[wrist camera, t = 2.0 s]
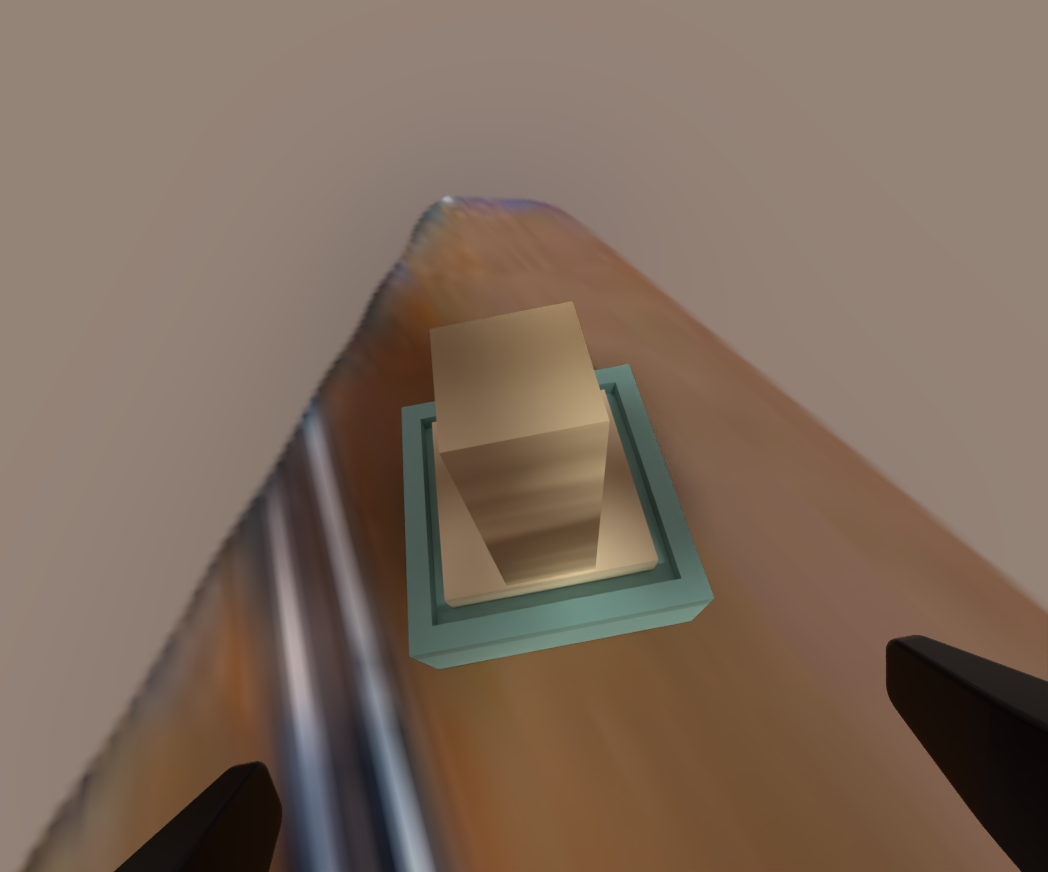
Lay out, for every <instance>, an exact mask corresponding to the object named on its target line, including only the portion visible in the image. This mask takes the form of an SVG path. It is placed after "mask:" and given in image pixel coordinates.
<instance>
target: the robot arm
mask: <svg viewBox="0 0 1048 872" xmlns="http://www.w3.org/2000/svg"><path fill="white" fill-rule="evenodd" d="M886 688H887V692H888V696H889V698H890V700H891V702H892V704H893V706H894V707H895V709H896V710H897V711H898V713H899V714H900V715H901V717H902V718H903V720H904V721H905V722H906V724H907V725H908V726H909V728H910V729H911V730H912V732H913V733H914V734H915V736H916V737H917V739H918V740H919V741H920V743H921V744H922V745H923V747H924V748H925V749H926V751H927V752H928V753H929V755H930V756H931V757H932V759H933V760H934V762H935V763H936V764H937V766H938V767H939V768H940V770H941V771H942V772H943V774H944V775H945V776H946V778H947V779H948V781H949V782H950V783H951V785H952V786H953V787H954V789H955V790H956V791H957V793H958V794H959V795H960V797H961V798H962V799H963V801H964V802H965V804H966V805H967V806H968V807H969V809H970V810H971V811H972V813H973V814H974V815H975V817H976V818H977V819H978V820H979V822H980V823H981V824H982V826H983V827H984V828H985V829H986V830H987V832H988V833H989V834H990V835H991V836H992V838H993V839H994V840H995V841H996V842H997V844H998V845H999V846H1000V847H1001V848H1002V850H1003V851H1004V852H1005V853H1006V854H1007V855H1008V857H1009V858H1010V859H1011V860H1012V861H1013V862H1014V864H1015V865H1016V866H1017V867H1018V868H1019V869H1020V871H1021V872H1048V681H1045V680H1043V679H1040V678H1037V677H1034V676H1032V675H1029V674H1026V673H1023V672H1021V671H1018V670H1015V669H1012V668H1010V667H1007V666H1004V665H1002V664H999V663H996V662H993V661H991V660H988V659H985V658H982V657H980V656H977V655H974V654H971V653H969V652H966V651H963V650H961V649H958V648H955V647H952V646H950V645H947V644H944V643H941V642H939V641H936V640H933V639H930V638H928V637H925V636H921V635H911V636H906V637H901V638H896V639H892V640H890V641H889V642H888V644H887V646H886ZM281 822H282V805H281V801H280V799H279V796H278V794H277V791H276V789H275V786H274V783H273V781H272V778H271V776H270V773H269V770H268V768H267V766H266V765H265V764H264V763H263V762H260V761H255V762H250V763H245V764H240V765H236V766H233V767H231V768H229V769H228V770H227V771H226V772H224V773H223V774H222V775H221V776H220V777H219V778H218V779H217V780H215V781H214V782H213V783H212V784H211V785H210V786H209V787H208V788H207V789H205V790H204V791H203V792H202V793H201V794H200V795H199V796H198V797H197V798H195V799H194V800H193V801H192V802H191V803H190V804H189V805H188V806H187V807H185V808H184V809H183V810H182V811H181V812H180V813H179V814H178V815H176V816H175V817H174V818H173V819H172V820H171V821H170V822H169V823H168V824H166V825H165V826H164V827H163V828H162V829H161V830H160V831H159V832H158V833H156V834H155V835H154V836H153V837H152V838H151V839H150V840H149V841H147V842H146V843H145V844H144V845H143V846H142V847H141V848H140V849H139V850H137V851H136V852H135V853H134V854H133V855H132V856H131V857H130V858H129V859H127V860H126V861H125V862H124V863H123V864H122V865H121V866H120V867H118V868H117V869H116V870H115V871H114V872H269V869H270V866H271V862H272V858H273V854H274V850H275V846H276V843H277V839H278V835H279V831H280V827H281Z"/></svg>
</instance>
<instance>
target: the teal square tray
mask: <svg viewBox="0 0 1048 872" xmlns="http://www.w3.org/2000/svg"><path fill="white" fill-rule="evenodd" d="M594 372H595V375H596V378H597V381H598V385H599V388H600V390H605V393H606V396H607V399H608V402H609V405H610V409H611V412H612V415H613V418H614V421H615V424H616V427H617V431H618V434H619V437H620V440H621V443H622V446H623V449H624V453H625V456H626V459H627V462H628V465H629V468H630V472H631V475H632V478H633V481H634V484H635V487H636V490H637V494H638V497H639V500H640V503H641V506H642V509H643V512H644V516H645V519H646V522H647V525H648V528H649V531H650V534H651V538H652V541H653V544H654V547H655V550H656V553H657V557H658V562H657V564H656V566H655V569H654V570H652V571H646V572H641V573H636V574H631V575H625V576H620V577H615V578H610V579H605V580H599V581H594V582H589V583H584V584H579V585H573V586H568V587H563V588H558V589H552V590H547V591H542V592H537V593H532V594H526V595H521V596H516V597H511V598H506V599H500V600H495V601H490V602H485V603H479V604H474V605H469V606H464V607H459V608H452V607H451V606H450V605H448V604H447V603H446V602H445V599H444V585H443V571H442V557H441V543H440V529H439V515H438V501H437V487H436V473H435V459H434V445H433V431H432V422H437V420H436V407H435V401H433V402H427V403H422V404H417V405H412V406H407V407H401V413H402V445H403V477H404V509H405V541H406V573H407V605H408V637H409V657H411V658H413V659H415V660H418V661H420V662H422V663H425V664H427V665H429V666H432V667H434V668H436V669H443V668H449V667H454V666H459V665H464V664H469V663H475V662H480V661H485V660H490V659H496V658H501V657H506V656H511V655H516V654H522V653H527V652H532V651H537V650H542V649H548V648H553V647H558V646H563V645H569V644H574V643H579V642H584V641H589V640H595V639H600V638H605V637H610V636H615V635H621V634H626V633H631V632H636V631H642V630H647V629H652V628H657V627H662V626H668V625H673V624H678V623H683V622H688V621H692V620H693V619H694V618H695V617H696V616H697V615H698V614H699V613H700V612H701V611H702V610H703V609H704V608H705V607H706V606H707V605H708V604H709V603H710V602H711V601H712V600H713V599H714V596H713V594H712V591H711V588H710V585H709V583H708V580H707V577H706V574H705V572H704V569H703V566H702V563H701V561H700V558H699V555H698V552H697V550H696V547H695V544H694V541H693V539H692V536H691V533H690V530H689V528H688V525H687V522H686V520H685V517H684V514H683V511H682V509H681V506H680V503H679V500H678V498H677V495H676V492H675V489H674V487H673V484H672V481H671V478H670V476H669V473H668V470H667V467H666V465H665V462H664V459H663V456H662V454H661V451H660V448H659V446H658V443H657V440H656V437H655V435H654V432H653V429H652V426H651V424H650V421H649V418H648V415H647V413H646V410H645V407H644V404H643V402H642V399H641V396H640V393H639V391H638V388H637V385H636V382H635V380H634V377H633V374H632V372H631V369H630V366H629V364H626V365H621V366H615V367H610V368H605V369H600V370H595V371H594Z"/></svg>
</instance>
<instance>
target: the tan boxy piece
mask: <svg viewBox="0 0 1048 872" xmlns="http://www.w3.org/2000/svg"><path fill="white" fill-rule="evenodd" d="M429 331H430V343H431V356H432V369H433V382H434V395H435V407H436V420H437V422H432V431H433V445H434V459H435V473H436V487H437V501H438V515H439V529H440V543H441V557H442V571H443V585H444V599H445V602H446V603H447V604H448V605H450V606H451V607H452V608H459V607H464V606H469V605H474V604H479V603H485V602H490V601H495V600H500V599H506V598H511V597H516V596H521V595H526V594H532V593H537V592H542V591H547V590H552V589H558V588H563V587H568V586H573V585H579V584H584V583H589V582H594V581H599V580H605V579H610V578H615V577H620V576H625V575H631V574H636V573H641V572H646V571H652V570H654V569H655V566H656V564H657V562H658V557H657V553H656V550H655V547H654V544H653V541H652V538H651V534H650V531H649V528H648V525H647V522H646V519H645V516H644V512H643V509H642V506H641V503H640V500H639V497H638V494H637V490H636V487H635V484H634V481H633V478H632V475H631V472H630V468H629V465H628V462H627V459H626V456H625V453H624V449H623V446H622V443H621V440H620V437H619V434H618V431H617V427H616V424H615V421H614V418H613V415H612V412H611V409H610V405H609V402H608V399H607V396H606V393H605V390H600V388H599V385H598V381H597V378H596V375H595V372H594V369H593V365H592V362H591V359H590V356H589V352H588V349H587V346H586V343H585V340H584V336H583V333H582V330H581V327H580V324H579V320H578V317H577V314H576V311H575V308H574V304H573V301H572V302H567V303H561V304H556V305H551V306H546V307H540V308H535V309H530V310H525V311H520V312H514V313H509V314H504V315H499V316H493V317H488V318H483V319H478V320H473V321H467V322H462V323H457V324H452V325H446V326H441V327H436V328H431V329H429Z"/></svg>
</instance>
